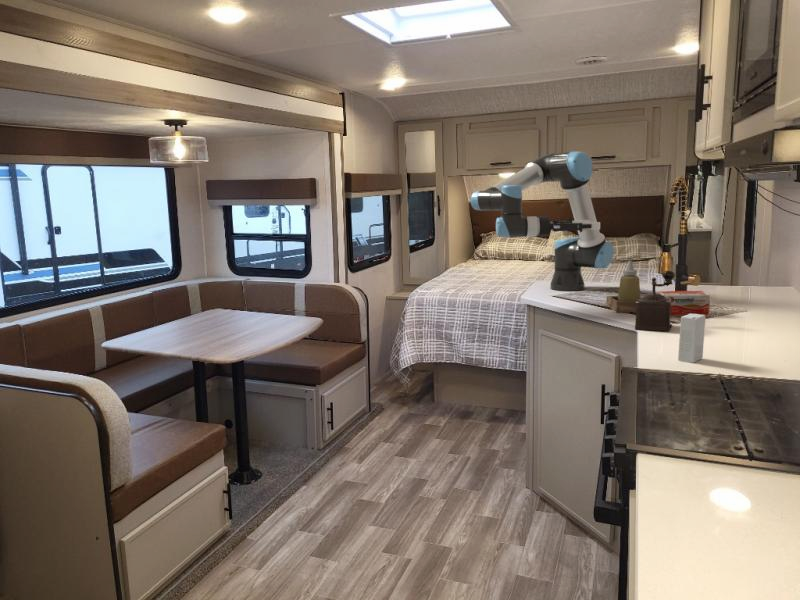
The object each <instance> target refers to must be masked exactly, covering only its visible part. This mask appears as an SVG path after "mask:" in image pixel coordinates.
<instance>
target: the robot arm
mask: <svg viewBox="0 0 800 600" xmlns="http://www.w3.org/2000/svg"><path fill="white" fill-rule="evenodd" d="M593 166H594V165H593V161H592V159H591V157H590V156H589V155H588V153H586V152H584V151H576V150H573V151H567V152H553V153H548V154H544V155H542V156H540V157H538V158H536V159H535V160H533V161H530V162H529V163H527V164H526V165H525V166H524V168H523V169H521V170H518V172H516V173H514V174H512V175H511V176H509V177H507V178H505V179H503V180H501V181H500V182H498V183H496V184H494V185H493V186H490V187H488V188H486V189H485V190H477V191H474V192H473V193H472V194H471V196H470V205H471V207H472V209H474V210H475V211H482V212H483V211H501V214H500V215H501V216H500V217H496V220H495V233H496V236H497V237H498V238H526V237H528V239H532V237H537V236H538V237H548V236H549V235H550V230H551V231H552V232H565V231H576V232H577V234H578V237H570V238H561V239H557V240H556V241H555V242H554V273H553V275H552V278H551V282H550V290H555V291H561V292H562V291H563V292H564V291H565V292H567V291H568V292H570V291H571V292H575V291H582V289H583V290H584V289H585V282H584V278H583V275H582V268H592V269H595V270H597V269H606V268H608V266H610V265H611V263H612V261H613V258H614V253H615V252H614V250H615V247H614V245H613V243H612V242H610V241H607V240H606V238H605V235H604V234H603V233H601V232H600V230H601V222H600V221H597V218H596V214H595V210H594V205H593V201H592V197H591V195H590V191H589V188H588V187H589V186H588V184H589V183H590V179H591V178H592V174H593V172H594V171H593V169H594V167H593ZM548 182H549V183H550V182H551V183H552V182H553V183H554V182H559V184H560V187H561V190H563V191H565V192H566V194H567V199H568V202H569V205H570V209H571V211H572V212H571V213H572V215H573V216H572V217H573V218H570V219H568V220H557V219H556V220H552V221H550V218H549V216H547V215H540V216H523V215H522V214H523V212H522V211H523V194H522V192H523V191H524V190H527V189H528V188H530V187H531V186H539V185H540V184H542V183H548ZM573 219H574V220H573Z"/></svg>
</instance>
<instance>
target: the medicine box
mask: <svg viewBox="0 0 800 600" xmlns="http://www.w3.org/2000/svg"><path fill="white" fill-rule="evenodd" d="M659 294H660V295H663V296H664V295H665V297H666V298H671V317H683V316H685V315H688V314H701V315H705V317H709V313H710V302H711V301H710V297H711V296H710V294H708V293H706V292H704V291H702V290H670V291H669V290H668V291H667V290H666V291H663V290H662V291H661V290H660V291H659Z"/></svg>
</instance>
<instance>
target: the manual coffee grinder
mask: <svg viewBox="0 0 800 600" xmlns="http://www.w3.org/2000/svg"><path fill="white" fill-rule="evenodd" d="M675 277H676V273H675V272H674V271H673V270H665V271H663V272H662V278H663V279H664V281H663V283H657V278H656V277H652V278H651V286H652V292H651V293H649V294H646V295H645V296H644V295H643V297H639V298H638V300H637V301H636V312H635V325H634V330H635V331H646V332H647V331H649V332H666V333H669V332H670V331H671V329H672V328H673V324H672V323H671V319H672V318H671V317H672V316H671V298H666V297H665V295H664V296H663V295H660V292H659V293H656V287H661V288H662V287H665V286H667V287H668V286H670V285H673V279H674V278H675Z"/></svg>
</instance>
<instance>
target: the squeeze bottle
mask: <svg viewBox="0 0 800 600" xmlns="http://www.w3.org/2000/svg"><path fill="white" fill-rule="evenodd" d="M637 273H638V270H635V269H634V264H633V260H628V263H627V266H626V269H624V270H623V275H621V276H620V280H619V287H618V288H619V289H618V293H617V294H618V295H617V296H618V301H619V302H627V301H637V300H638V298H639V297H640V295H641V289H640V288H641V285H640V277H639V276H638V274H637Z"/></svg>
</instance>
